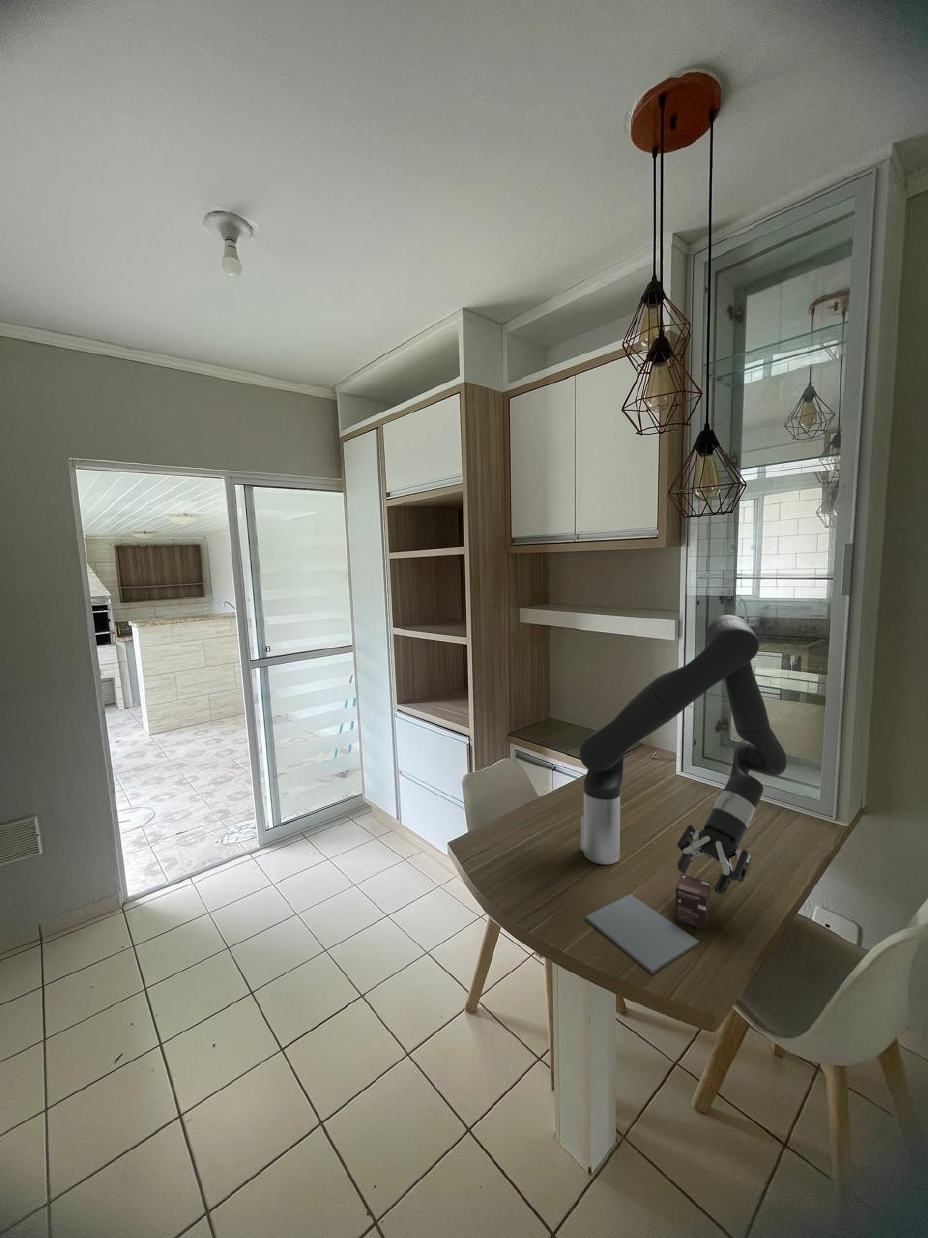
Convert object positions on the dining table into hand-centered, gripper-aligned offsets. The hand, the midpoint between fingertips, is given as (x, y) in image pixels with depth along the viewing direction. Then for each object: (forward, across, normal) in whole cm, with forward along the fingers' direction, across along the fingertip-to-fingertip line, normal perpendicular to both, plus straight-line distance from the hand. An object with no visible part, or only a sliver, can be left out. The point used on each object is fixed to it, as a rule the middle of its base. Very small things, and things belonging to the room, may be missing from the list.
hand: (698, 882), depth 104 cm
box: (+7, 0, +4) cm, 8 cm away
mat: (+16, -3, -6) cm, 17 cm away
